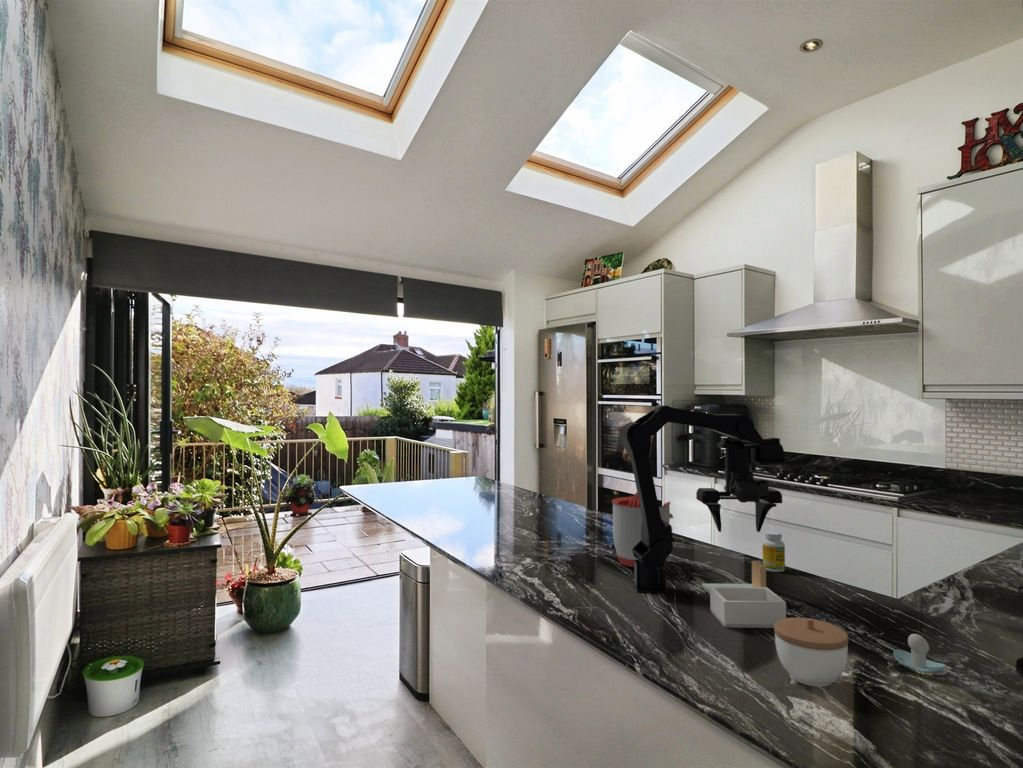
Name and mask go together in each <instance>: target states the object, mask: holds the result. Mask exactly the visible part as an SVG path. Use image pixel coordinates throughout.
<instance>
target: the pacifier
mask: <svg viewBox="0 0 1023 768" xmlns="http://www.w3.org/2000/svg"><path fill="white" fill-rule="evenodd" d="M907 644H908V646H909V648H910V652H909V651H907V650H903V649H897V648H895V649H893V651H892V652H893V657H894V659H895V660H896V661H898V662H899V664H901V665H903V666H905V667H906V668H907V667H909V668H911V669H913V670H916V671H918V672H923V673H928V674H931V673H933V675H934V674H938V675H937V676H945V674H946V675H947V674H948V672H947V669H945V668H946V663H945V664H944V663H941V662H936V661H933V660H929V659H927V653H928V652H929V650H930V645H929V643H928V642H927V640H926V639H925V638H924V637H923V636H922V635H920V634H918V633H911V634H910V635H908V637H907Z"/></svg>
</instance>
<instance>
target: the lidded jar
mask: <svg viewBox="0 0 1023 768" xmlns="http://www.w3.org/2000/svg"><path fill="white" fill-rule="evenodd" d="M773 631H774V642H775V649H776V653H777V657H778V659H779V661H780V663H781V666H783V669H784V670H786V672H788V674H789V676H790V677H791V678H792V679H793V680H794V681H796V682H798V683H800V684H803V685H805V686H810V687H816V688H817V687H818V688H823V687H822V686H826V685H829V684H831V683H832V684H833V682H834V681H836V680H838V678H840V677H841V675H842V674H843V672H844V670H845V668H846V666H847V660H848V651H849V650H848V649H849V648H848V644H849V635H848V633H847V632H846V631H845V630H844V629H842V628H841V627H839V626H837V625H834V624H832V623H829V622H826V621H823V620H818V619H814V618H809V617H808V618H807V617H786V618H784V619H780V620H778V621H776V622H775V624H774V628H773ZM832 684H831V685H832ZM829 686H830V685H829ZM826 687H827V686H826Z"/></svg>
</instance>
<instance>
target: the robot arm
mask: <svg viewBox="0 0 1023 768" xmlns="http://www.w3.org/2000/svg"><path fill="white" fill-rule="evenodd" d="M667 423H671V424H677V425H685V426H690V427H695V428H702V429H707V430H710V431H713V432H716V433H718V434H720V435H724V436H725V437H722V438H721V440H720V441H719V442H717V444H716V447H717V448H722V449H724V451H725V456H724V457H725V468H724V469H723V470H724V471H723V473H724V474H725V485H723V487H724V488H723V489H724V491H719V490H717V489H715V488H714V487H699V488H697V489H696V492H695V493H696V495H695V496H696V500H697V501H699V502H700V503H702V504H703V505H704V506H707V509H708V510H709V512H710V514H711V517H712V519H713V521H714V524H715V527H716V529H717V531H718V532H719V533H721V532H722V519H721V508H722V504H720V503H719V501H720V500H737V501H738V502H740V503H745V504H746V503H754V504H755V529H756V532H757V533H760V532H761V530H762V527H763V525H764V522H765V519H766V517H767V516H768V515H767V514H768V513H769V511H771V510H772V508H775V507H777V504H783V495H782V492H781V491H780V490H777V489H775V488H772V487H769V482H768V481H767V480H765V479H763V480H758V481H755V479H754V472H753V471H752V463H753V464H754V466H756V467H782V466H783V464H784V463H785V460H786V452H785V451H784V448H783V446H782V444H781V439H780V438H778V437H769V438H763V437H762V436H761V434H760V433H759V432H758V429H756V428H755V423H754V421H753V420H752V417H750V416H749V415H745V414H734V413H725V414H724V413H720V414H719V413H718V414H711V413H707V412H702V411H701V412H700V411H694V410H689V409H682V408H677V407H671V406H670V405H661V404H660V405H658V406H656V407H654V409H652V410H651V411H649V412H647V413H646V414H644V415H642V416H641V417H639V418H637V419H636V420H635V421H629V422H627V423H625V424H623V426H622V427H621V429H620V431H619V436H620V440H621V442H622V444H623V447H624V449H625V452H626V454H627V456H628V458H629V459H630V462H631V467H632V472H633V477H634V481H635V487H636V493H638V498H639V503H640V508H641V513H642V524H641V540H640V541H639V542H638V543H637V544H636V545H635V546H634V547H633V549H632V552H633V555H634V557H635V558H637V559H638V560H634V567H633V568H634V569H633V570H634V571H633V573H634V575H633V576H634V580H633V581H632V585H633V587H634V588H635V590H636V591H637V592H639V593H665V592H666V585H667V584H666V583H667V580H666V579H667V578H666V577H667V575H666V571H667V570H666V569H665V567H664V566H665V563H666V562H667V558H668V557H669V556H670V555H671V553H672V552H673V550H674V545H673V544H675V543H676V541H675V539H674V536H673V527H672V525H671V524H670V523H669V524H668V523H667V522H665V521H664V520H662V518H661V515H660V510H659V506H660V505H659V501H658V497H657V496H658V495H657V491H656V486H655V481H654V480H655V479H654V475H653V471H652V467H651V461H650V458H651V450H652V437H653V436H655V434H657V433H659V431H660V430H661V429H662V428H663V427H664V426H665V425H666V424H667ZM728 437H729V438H734V439H737V440H731V439H729V438H728ZM744 442H746V443H750V444H745V443H744Z"/></svg>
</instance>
